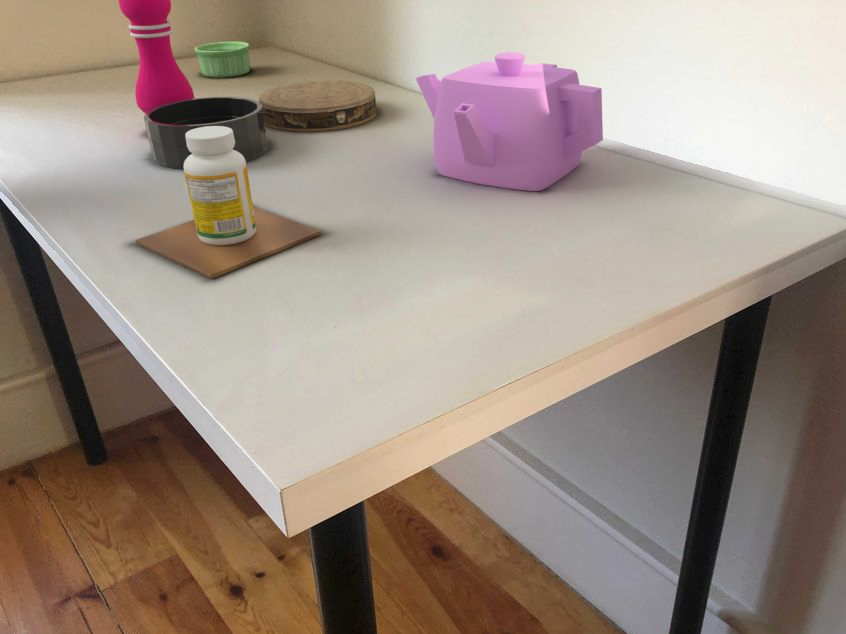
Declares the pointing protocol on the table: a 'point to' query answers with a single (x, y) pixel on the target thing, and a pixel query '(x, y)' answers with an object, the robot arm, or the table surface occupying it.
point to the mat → (219, 260)
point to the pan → (185, 115)
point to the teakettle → (511, 122)
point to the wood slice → (318, 106)
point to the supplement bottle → (218, 187)
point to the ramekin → (223, 59)
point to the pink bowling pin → (155, 54)
